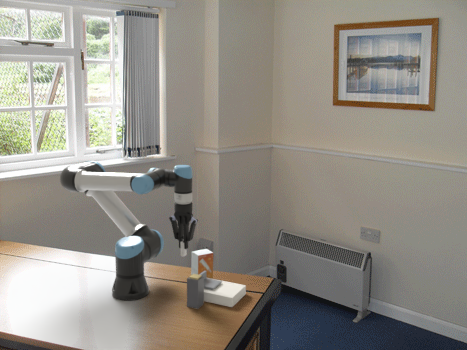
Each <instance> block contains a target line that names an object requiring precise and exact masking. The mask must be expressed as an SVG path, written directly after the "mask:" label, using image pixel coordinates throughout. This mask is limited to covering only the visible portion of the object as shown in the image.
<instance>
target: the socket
mask: <svg viewBox="0 0 467 350" xmlns="http://www.w3.org/2000/svg"><path fill="white" fill-rule="evenodd" d="M206 278H207V277H206ZM208 279H212V278H208ZM213 280H218V281H222V283H221V284H220V285H218V286H217V287H216V288H215V289H214V290H211V289H207V288H204V302H206V303H210V304H211V303H212V304H216V305H220V306H225V307H229V308H233V307H234V306H235V305H236V304H237V303H238V302H240V301H241V299H242V298H243V297H244V296H245V295H246V293H247V291H246V290H247V285H245V284H240V283H237V282H236V283H235V282H230V281H226V280H220V279H217V278H213Z"/></svg>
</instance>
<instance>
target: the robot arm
mask: <svg viewBox="0 0 467 350" xmlns="http://www.w3.org/2000/svg"><path fill="white" fill-rule="evenodd" d="M193 178H194V177H193V168H192V166H191V165H188V164H177V165H175V166H174V168H173V169H172V168H162V167H151V168H149V170H148V171H147V172H146V173H134V172H132V173H131V172H130V173H129V172H107V171H106V169H105V167H104V166H103V165H102V163H100V162H98V161H95V160H87V161H86V160H85V161H82V162H80V163H76V164H72V165H68V166H67V167H65V168H64V169H63V170H62V171H61V172H60V176H59V182H60V185H61V186H62V188H63V189H65V190H66V191H68V192H70V193H84V194H85V195H86V197H92V198H93V199H94V201H95V202H97V204H98V205H99V206H100V208H101V209H102V210H103V211H104V212H105V213H106V214H107V216H108V218H110V219H111V221H112V222H113V223H114V224H115V226H116V227H117V228H118V229H119V230H120V231H121V233H122V234H123V236H124V237H121V238H119V239H118V240H117V241H116V243H115V246H114V247H115V250H114V255H115V279H114V280H113V281H114V282H113V285H112V287H111V295H112V297H113V296H114V297H113V298H115V299H117V300H121V301H135V300H140V299H143V298H145V297H147V295H148V294H149V288H150V287H149V285H148V283H147V280H146V277H145V276H146V275H145V264H146V263H148V262H149V261H151V260H152V259H154V258H157V256H159V255H160V254H161V253H162V252H163V249H164V247H165V240H164V237H163V235H162V234H161V233H160V231H158V230H156V229H151V228H150V227H149V226H148V225H147V224H145V223H144V224H143V223H141V222H140V220H138V219H137V217H136V216H135V215H134V213H132V211H131V209H129V208H128V207H127V206H126V204H125V203H124V202H123V201H122V199H121V198H120V197H119V196H118V195H117V193H116V192H131V193H133V192H134V193H135V194H137V195H146V194H147V195H148V194H149V193H151V192H153V191H155V190H158V189H161V188H163V187H165V188H166V187H167V188H173V189H174V193H173V194H174V197H173V198H174V214H173V215H171V216H169V217H168V219H169V221H170V223H171V227H172V232H173V237H174V240H177V241H178V248H179V249H180V257H183V258H184V257H186V256H187V255H188V253H187V250H188V249H189V242H190V241H192V240H193V238H194V235H195V234H194V233H195V230H196V225H197V223H198V221H199V220H198V218H195V217H194V215H193Z"/></svg>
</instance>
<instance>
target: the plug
mask: <svg viewBox="0 0 467 350" xmlns="http://www.w3.org/2000/svg"><path fill="white" fill-rule="evenodd" d="M204 303H205V301H204V276H202V275H198V274H193V275H191V274H190V276H188V277H187V278H186V307H187V308H192V309H196V310H199V309H200V308H201V307H202V306H203V305H204Z"/></svg>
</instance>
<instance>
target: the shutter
mask: <svg viewBox="0 0 467 350" xmlns="http://www.w3.org/2000/svg"><path fill="white" fill-rule="evenodd" d="M206 272H207V271H203V272H202V273H200V274H199V275H202V276H204V288H207V289H211V290H214V289H215V288H216V287H217V286H218V285H220V284H221V283H222V281H223V280H222V281H218V280H219V279H217V280H213V279H214V278H213V279H208V278H206Z"/></svg>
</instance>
